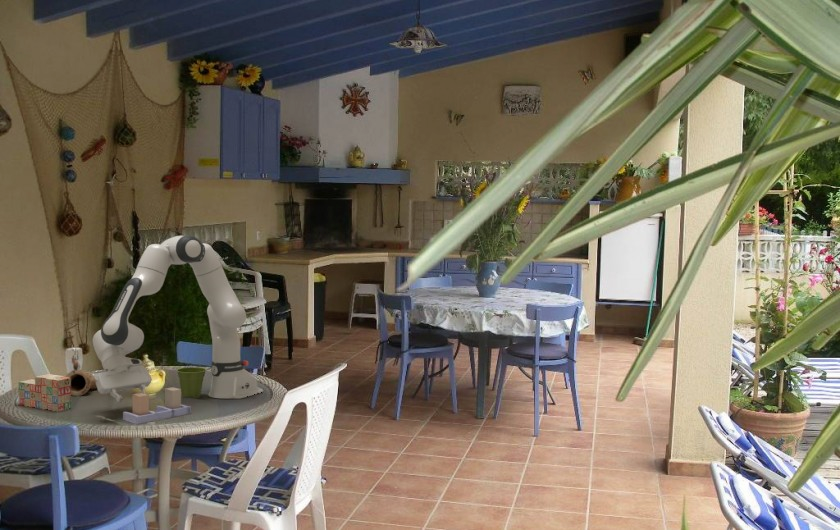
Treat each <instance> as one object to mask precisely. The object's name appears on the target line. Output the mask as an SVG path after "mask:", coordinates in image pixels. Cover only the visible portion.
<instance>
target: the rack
mask: <svg viewBox="0 0 840 530" xmlns="http://www.w3.org/2000/svg"><path fill="white" fill-rule="evenodd" d="M191 407H192V406H190V405H186V404H182V403H181V408H178V409H169V408H166V407H165V406H162V405H156V406H155V411H153V410H150V409H149V414H147V415H142V416H139V415H135V414H133V412H128V411H123V412H122V420H123V421H127V422H130V423H132V424H134V425H135V424H136V425H140V424H146V423H149V422H155V421H160V420H166V419H170V418H177V417H179V416H184V415H186V416H187V415H189V414H190V415H191V414H192V408H191Z"/></svg>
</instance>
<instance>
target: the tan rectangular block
mask: <svg viewBox="0 0 840 530" xmlns="http://www.w3.org/2000/svg"><path fill="white" fill-rule="evenodd" d="M131 400H132V414H135V415H139V416H142V415H147V414H149V410H150V403H149V402H150V397H149V394H147V393H146V394H144V393H140V392H138V393H133V394H132V397H131Z"/></svg>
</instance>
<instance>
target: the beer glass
mask: <svg viewBox="0 0 840 530" xmlns="http://www.w3.org/2000/svg"><path fill="white" fill-rule="evenodd" d="M83 357H84V356H83V348H82V347H68V348H65V356H64V358H65V359H64V360H65V368H66V373H67V374H68V373H70V372H71V371H73V370H82V367H83V364H84V363H83V362H84V360H83Z"/></svg>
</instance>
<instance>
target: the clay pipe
mask: <svg viewBox="0 0 840 530" xmlns="http://www.w3.org/2000/svg"><path fill="white" fill-rule="evenodd" d="M65 377H70V378H71V397H80V396H83V395H85V394H86V393H88V392H89V390H91V389H92V390H94V389H97V386H96V381H95V380H94V378H93V373H92V374H89V372H86V371H84V370H82V369H81V370H73V371H71V372H70V373H67V374H66V376H65Z"/></svg>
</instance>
